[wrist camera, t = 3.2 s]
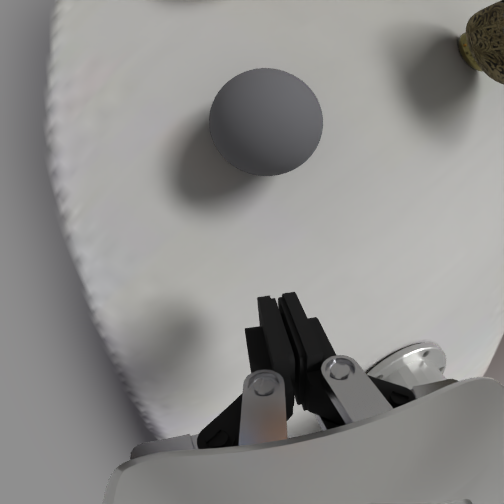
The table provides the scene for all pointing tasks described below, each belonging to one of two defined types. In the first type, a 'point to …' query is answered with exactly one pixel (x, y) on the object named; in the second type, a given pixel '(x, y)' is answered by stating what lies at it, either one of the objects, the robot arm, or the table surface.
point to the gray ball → (266, 122)
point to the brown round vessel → (485, 41)
